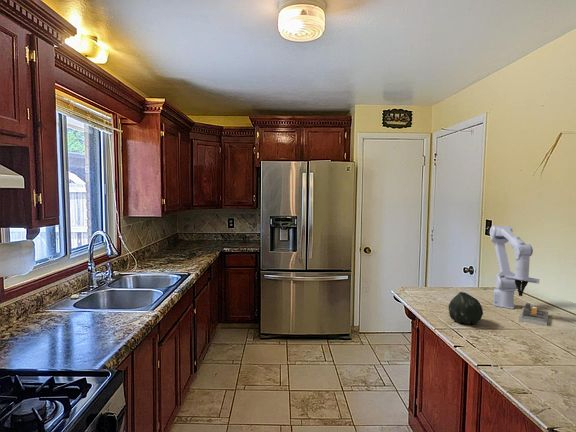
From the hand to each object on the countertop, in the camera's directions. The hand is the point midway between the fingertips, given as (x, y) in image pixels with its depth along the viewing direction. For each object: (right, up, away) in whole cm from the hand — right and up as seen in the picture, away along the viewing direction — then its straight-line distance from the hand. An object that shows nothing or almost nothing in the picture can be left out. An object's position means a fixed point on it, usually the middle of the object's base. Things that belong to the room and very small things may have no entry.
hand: (520, 295), depth 185 cm
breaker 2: (-1, -9, -6) cm, 10 cm away
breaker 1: (+6, -8, +3) cm, 10 cm away
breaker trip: (+5, -9, -3) cm, 10 cm away
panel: (+5, -10, -3) cm, 12 cm away
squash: (-32, -10, -10) cm, 35 cm away
